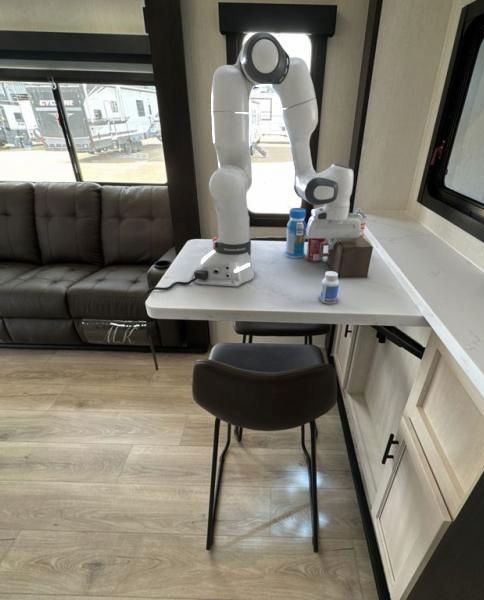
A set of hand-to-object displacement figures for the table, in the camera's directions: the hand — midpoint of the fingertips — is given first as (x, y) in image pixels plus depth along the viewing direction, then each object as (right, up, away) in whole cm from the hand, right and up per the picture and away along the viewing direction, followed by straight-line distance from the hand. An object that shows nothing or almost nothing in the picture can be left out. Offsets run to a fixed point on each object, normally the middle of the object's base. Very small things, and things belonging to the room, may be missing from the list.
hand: (330, 248), depth 118 cm
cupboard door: (-1, -8, +5) cm, 9 cm away
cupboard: (+8, -7, +6) cm, 12 cm away
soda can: (-4, -3, +14) cm, 15 cm away
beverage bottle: (-13, 0, +18) cm, 22 cm away
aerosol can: (+14, +2, +22) cm, 26 cm away
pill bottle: (-4, -20, -16) cm, 26 cm away
